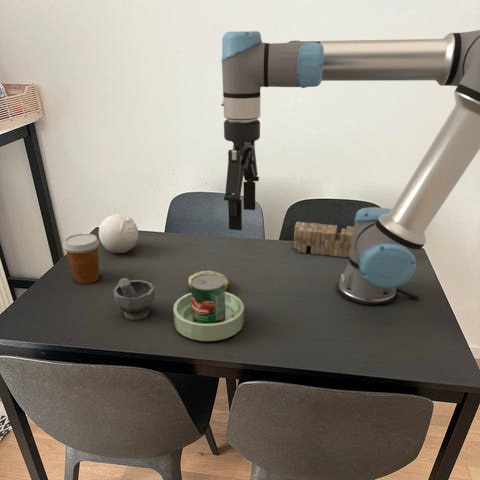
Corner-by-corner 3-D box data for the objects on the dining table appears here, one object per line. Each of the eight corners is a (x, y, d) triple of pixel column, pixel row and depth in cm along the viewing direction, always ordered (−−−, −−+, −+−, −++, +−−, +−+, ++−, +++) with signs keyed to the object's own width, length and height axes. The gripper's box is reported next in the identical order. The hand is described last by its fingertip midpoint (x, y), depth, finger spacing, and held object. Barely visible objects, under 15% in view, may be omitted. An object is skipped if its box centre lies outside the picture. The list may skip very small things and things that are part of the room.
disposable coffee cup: (63, 284, 130) (54, 244, 123) (81, 269, 137) (74, 231, 131) (94, 288, 128) (87, 247, 121) (110, 273, 136) (104, 234, 129)
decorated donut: (212, 302, 122) (211, 289, 120) (181, 291, 127) (180, 278, 125) (235, 287, 129) (235, 275, 127) (205, 276, 134) (204, 265, 132)
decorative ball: (130, 261, 143) (125, 224, 136) (94, 257, 145) (88, 220, 139) (146, 246, 153) (142, 210, 146) (112, 242, 155) (107, 207, 149)
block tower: (292, 254, 150) (385, 261, 144) (293, 229, 146) (389, 236, 140) (295, 245, 157) (385, 251, 151) (296, 221, 152) (389, 226, 146)
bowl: (250, 312, 118) (251, 295, 115) (232, 349, 104) (232, 330, 101) (189, 303, 121) (188, 286, 119) (163, 337, 108) (162, 319, 105)
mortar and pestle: (125, 302, 121) (120, 260, 115) (160, 305, 120) (156, 262, 114) (109, 325, 112) (102, 280, 106) (146, 328, 111) (141, 283, 105)
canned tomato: (227, 314, 115) (227, 274, 109) (223, 331, 109) (222, 290, 103) (195, 312, 116) (193, 272, 110) (189, 329, 109) (187, 288, 104)
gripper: (239, 110, 107) (240, 201, 118) (206, 129, 86) (211, 237, 97) (271, 110, 105) (269, 203, 116) (245, 130, 85) (246, 240, 96)
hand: (242, 218), depth 107 cm, fingers open, 13 cm apart
